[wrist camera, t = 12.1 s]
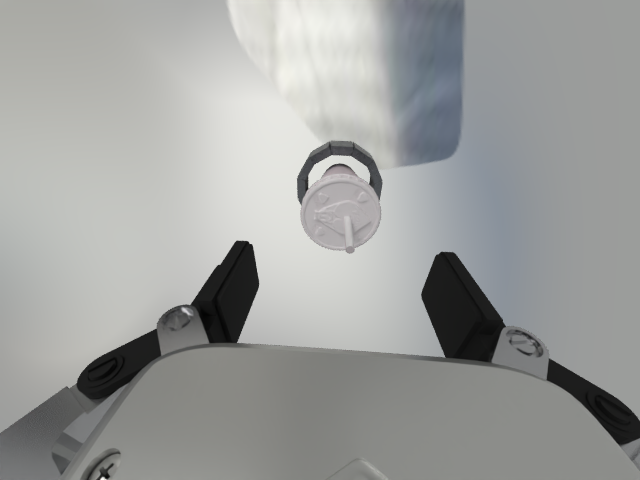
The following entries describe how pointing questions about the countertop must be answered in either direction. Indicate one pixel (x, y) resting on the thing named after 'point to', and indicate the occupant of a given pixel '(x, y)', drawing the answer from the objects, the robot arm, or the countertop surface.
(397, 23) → the countertop surface
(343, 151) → the ring
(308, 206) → the smoothie
